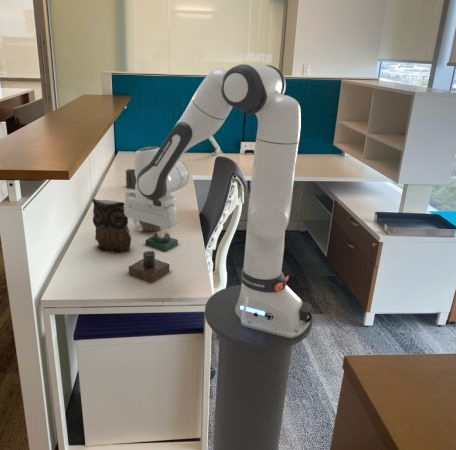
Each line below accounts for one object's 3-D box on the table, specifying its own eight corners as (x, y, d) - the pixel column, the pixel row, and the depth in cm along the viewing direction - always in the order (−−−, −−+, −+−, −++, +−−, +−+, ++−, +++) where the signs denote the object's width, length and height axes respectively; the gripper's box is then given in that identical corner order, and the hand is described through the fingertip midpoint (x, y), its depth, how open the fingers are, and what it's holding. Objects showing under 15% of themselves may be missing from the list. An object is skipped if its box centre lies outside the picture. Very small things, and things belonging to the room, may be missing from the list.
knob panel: (169, 271, 157) (169, 263, 156) (151, 282, 149) (151, 274, 148) (147, 263, 162) (147, 255, 161) (128, 274, 154) (128, 266, 153)
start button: (168, 236, 177) (168, 232, 176) (162, 239, 174) (162, 235, 173) (160, 234, 178) (160, 229, 178) (155, 236, 176) (155, 232, 175)
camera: (124, 187, 244) (124, 170, 240) (127, 185, 248) (126, 168, 244) (153, 190, 241) (152, 172, 237) (155, 188, 245) (155, 171, 241)
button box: (177, 244, 178) (177, 235, 177) (165, 251, 172) (165, 242, 170) (158, 238, 183) (158, 229, 181) (145, 244, 177) (145, 235, 175)
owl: (132, 252, 170) (131, 202, 163) (99, 257, 165) (96, 206, 158) (123, 239, 181) (122, 192, 173) (92, 243, 176) (89, 195, 168)
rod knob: (149, 268, 152) (149, 256, 150) (141, 265, 154) (140, 252, 152) (157, 264, 155) (157, 252, 153) (149, 261, 157) (148, 249, 155)
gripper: (118, 191, 149) (120, 229, 154) (167, 204, 139) (168, 244, 144) (131, 187, 154) (132, 224, 159) (179, 198, 144) (179, 238, 149)
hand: (150, 234), depth 151 cm, fingers open, 8 cm apart
